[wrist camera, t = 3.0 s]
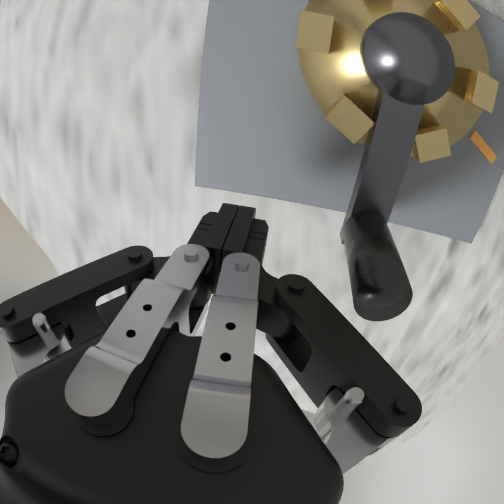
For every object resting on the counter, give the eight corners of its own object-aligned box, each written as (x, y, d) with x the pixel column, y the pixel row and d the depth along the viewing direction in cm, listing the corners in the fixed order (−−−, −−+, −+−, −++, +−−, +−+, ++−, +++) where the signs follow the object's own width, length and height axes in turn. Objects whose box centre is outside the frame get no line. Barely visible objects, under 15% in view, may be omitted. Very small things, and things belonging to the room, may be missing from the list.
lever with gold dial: (309, -42, 9) (313, -118, 3) (477, 17, 9) (575, 17, 2) (272, 202, 19) (251, 301, 12) (418, 233, 18) (462, 331, 11)
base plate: (224, -51, 11) (218, -60, 9) (519, 41, 9) (533, 42, 8) (201, 177, 20) (194, 186, 19) (463, 232, 19) (471, 244, 18)
